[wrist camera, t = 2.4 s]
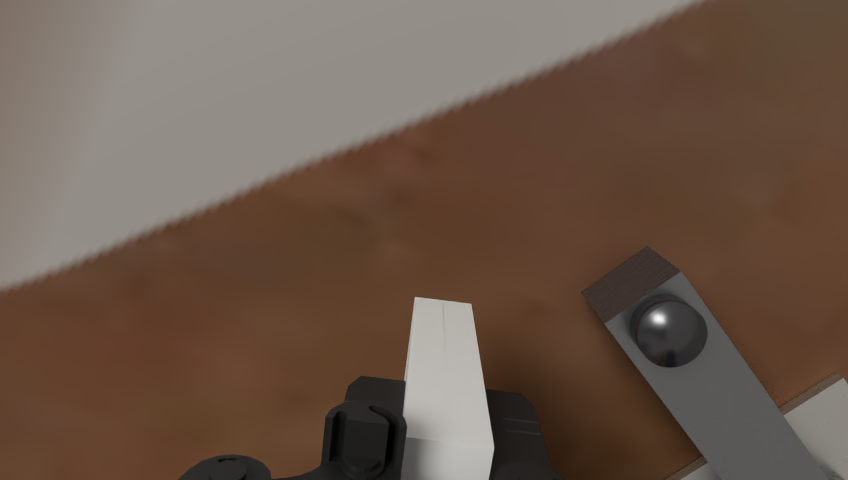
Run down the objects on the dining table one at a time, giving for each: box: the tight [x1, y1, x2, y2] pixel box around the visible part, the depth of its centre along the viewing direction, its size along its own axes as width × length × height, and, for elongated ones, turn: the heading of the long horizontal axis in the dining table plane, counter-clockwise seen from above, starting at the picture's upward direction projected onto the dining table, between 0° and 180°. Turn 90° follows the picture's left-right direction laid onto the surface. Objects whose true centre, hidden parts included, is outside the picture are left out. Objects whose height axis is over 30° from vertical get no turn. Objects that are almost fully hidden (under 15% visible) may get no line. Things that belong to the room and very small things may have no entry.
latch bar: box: [581, 246, 841, 480], centre depth 19 cm, size 14×4×4 cm, turn 38°
